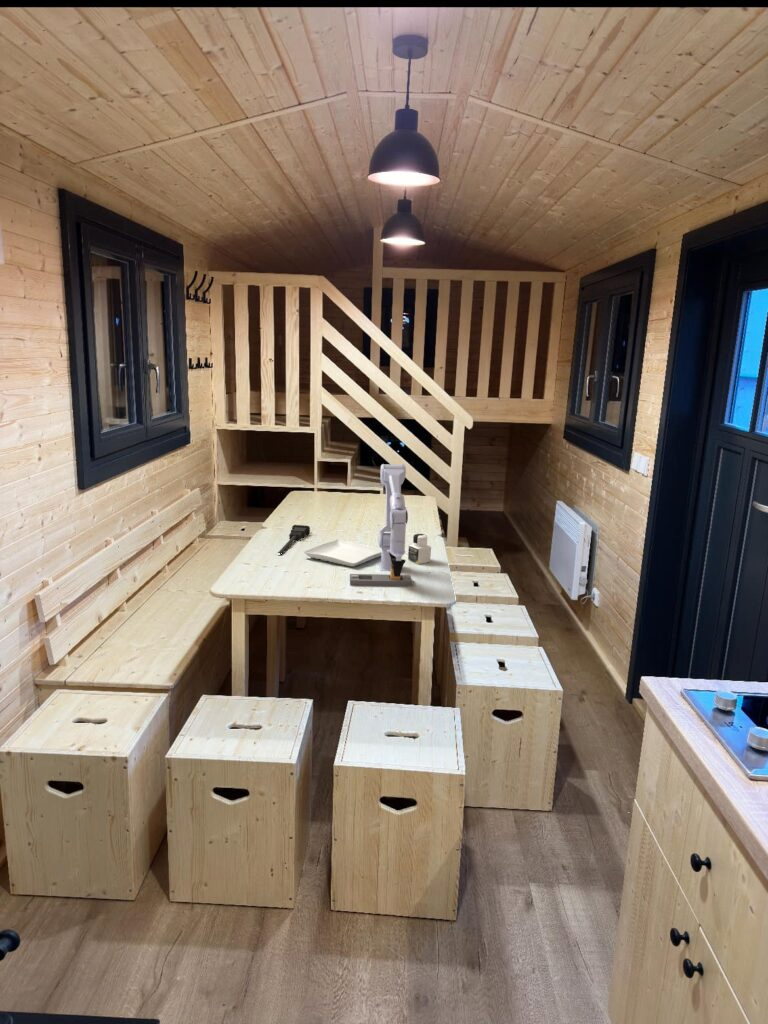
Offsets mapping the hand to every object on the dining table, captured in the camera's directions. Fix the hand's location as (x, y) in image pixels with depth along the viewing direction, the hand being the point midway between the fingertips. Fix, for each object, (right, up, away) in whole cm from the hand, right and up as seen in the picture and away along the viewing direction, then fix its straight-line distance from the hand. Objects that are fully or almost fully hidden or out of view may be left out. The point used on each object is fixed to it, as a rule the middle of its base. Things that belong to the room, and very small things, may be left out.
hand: (396, 573), depth 278 cm
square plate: (-22, +4, +34) cm, 40 cm away
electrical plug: (-47, +9, +52) cm, 71 cm away
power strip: (-6, -4, +1) cm, 7 cm away
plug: (-1, -4, +1) cm, 4 cm away
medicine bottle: (+11, +2, +32) cm, 34 cm away
